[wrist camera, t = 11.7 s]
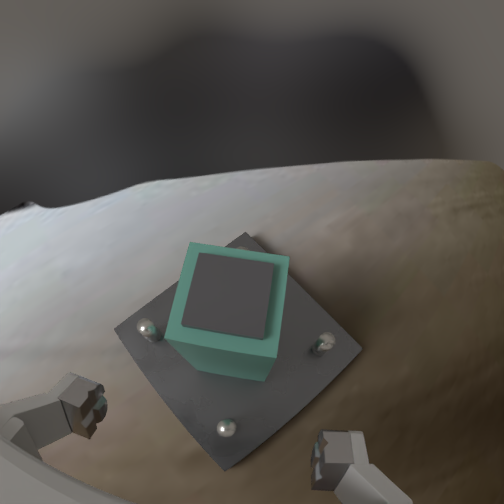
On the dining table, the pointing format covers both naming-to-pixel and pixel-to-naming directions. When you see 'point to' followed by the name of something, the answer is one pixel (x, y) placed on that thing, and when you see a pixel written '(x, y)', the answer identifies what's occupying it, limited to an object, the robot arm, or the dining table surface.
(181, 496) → the dining table surface
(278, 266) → the block
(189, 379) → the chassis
